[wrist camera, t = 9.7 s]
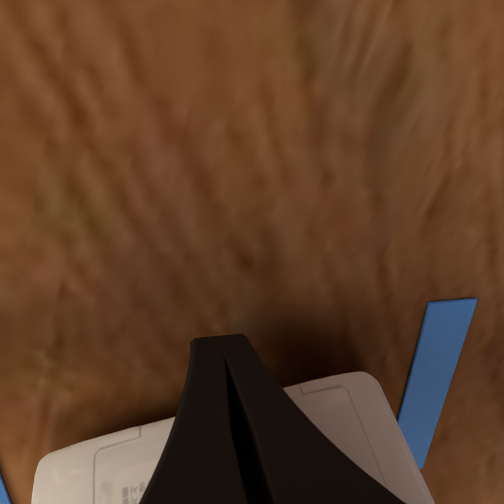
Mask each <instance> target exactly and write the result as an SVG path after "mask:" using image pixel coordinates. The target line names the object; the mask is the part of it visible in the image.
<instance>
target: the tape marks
mask: <svg viewBox="0 0 504 504" xmlns="http://www.w3.org/2000/svg"><path fill="white" fill-rule="evenodd" d="M477 300H478V299H477V298H468V299H457V300H446V301H435V302H428V306H427V310H426V314H425V317H424V321H423V325H422V329H421V333H420V336H419V340H418V344H417V348H416V351H415V355H414V359H413V363H412V366H411V370H410V374H409V378H408V382H407V385H406V389H405V393H404V397H403V400H402V404H401V408H400V412H399V415H398V419H397V423H398V425H399V427H400V429H401V431H402V433H403V436H404V438H405V440H406V442H407V444H408V446H409V449H410V451H411V453H412V455H413V457H414V459H415V461H416V464H417V466H418V468H419V469H422V468H423V465H424V462H425V459H426V456H427V453H428V450H429V447H430V444H431V441H432V438H433V435H434V432H435V429H436V426H437V422H438V419H439V416H440V413H441V410H442V407H443V404H444V401H445V398H446V395H447V392H448V389H449V386H450V383H451V380H452V377H453V374H454V371H455V368H456V364H457V361H458V358H459V355H460V352H461V349H462V346H463V343H464V340H465V337H466V334H467V331H468V328H469V325H470V322H471V319H472V316H473V313H474V310H475V307H476V303H477ZM0 504H12V503H11V500H10V498H9V495H8V492H7V490H6V487H5V484H4V481H3V479H2V476H1V473H0Z"/></svg>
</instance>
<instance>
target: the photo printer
mask: <svg viewBox="0 0 504 504" xmlns="http://www.w3.org/2000/svg"><path fill="white" fill-rule="evenodd" d="M283 389H284V391H285V392H286V393H287V394H288V396H289V397H290V398H291V399H292V400H293V401H294V403H295V404H296V405H297V406H298V407H299V408H300V409H301V411H302V412H303V413H304V414H305V415H306V416H307V417H308V418H309V419H310V420H311V422H312V423H313V424H314V425H315V426H316V427H317V428H318V429H319V430H320V431H321V432H322V433H323V434H324V435H325V436H326V437H327V438H328V439H329V440H330V441H331V442H332V443H333V444H335V445H336V446H337V447H338V448H339V449H340V450H341V451H342V452H343V453H344V454H345V455H347V456H348V457H349V458H350V459H351V460H352V461H353V462H354V463H356V464H357V465H358V466H359V467H360V468H361V469H363V470H364V471H365V472H366V473H368V474H369V475H370V476H371V477H373V478H374V479H375V480H376V481H378V482H379V483H380V484H382V485H383V486H384V487H385V488H387V489H388V490H389V491H390V492H392V493H393V494H394V495H396V496H397V497H398V498H399V499H401V500H402V501H403V502H405V503H406V504H435V502H434V500H433V498H432V496H431V494H430V492H429V489H428V487H427V485H426V483H425V481H424V479H423V477H422V474H421V472H420V470H419V468H418V466H417V464H416V461H415V459H414V457H413V455H412V453H411V451H410V449H409V446H408V444H407V442H406V440H405V438H404V436H403V433H402V431H401V429H400V427H399V425H398V423H397V421H396V418H395V416H394V414H393V412H392V410H391V408H390V405H389V403H388V401H387V399H386V397H385V395H384V393H383V390H382V388H381V386H380V384H379V383H378V381H377V380H376V379H375V378H374V377H373V376H371V375H370V374H368V373H366V372H360V371H358V372H351V373H345V374H339V375H334V376H329V377H325V378H321V379H316V380H312V381H307V382H304V383H300V384H297V385H293V386H289V387H285V388H283ZM174 419H175V417H172V418H169V419H165V420H161V421H157V422H153V423H149V424H146V425H142V426H137V427H132V428H128V429H125V430H121V431H118V432H114V433H111V434H107V435H104V436H100V437H97V438H93V439H90V440H86V441H83V442H80V443H77V444H74V445H71V446H68V447H65V448H62V449H59V450H57V451H54V452H51V453H49V454H47V455H46V456H45V457H43V458H42V459H41V460H40V462H39V464H38V466H37V470H36V473H35V478H34V486H33V493H32V501H31V504H139V502H140V500H141V498H142V496H143V494H144V492H145V490H146V488H147V485H148V483H149V481H150V479H151V477H152V475H153V473H154V470H155V468H156V466H157V464H158V461H159V459H160V457H161V454H162V452H163V449H164V447H165V444H166V442H167V439H168V437H169V434H170V431H171V428H172V425H173V422H174Z"/></svg>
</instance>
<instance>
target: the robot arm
mask: <svg viewBox="0 0 504 504" xmlns="http://www.w3.org/2000/svg"><path fill="white" fill-rule="evenodd" d="M139 504H406V503H405V502H403V501H402V500H401V499H399V498H398V497H397V496H396V495H394V494H393V493H392V492H390V491H389V490H388V489H387V488H385V487H384V486H383V485H382V484H380V483H379V482H378V481H376V480H375V479H374V478H373V477H371V476H370V475H369V474H368V473H366V472H365V471H364V470H363V469H361V468H360V467H359V466H358V465H357V464H356V463H354V462H353V461H352V460H351V459H350V458H349V457H348V456H347V455H345V454H344V453H343V452H342V451H341V450H340V449H339V448H338V447H337V446H336V445H335V444H333V443H332V442H331V441H330V440H329V439H328V438H327V437H326V436H325V435H324V434H323V433H322V432H321V431H320V430H319V429H318V428H317V427H316V426H315V425H314V424H313V423H312V422H311V420H310V419H309V418H308V417H307V416H306V415H305V414H304V413H303V412H302V411H301V409H300V408H299V407H298V406H297V405H296V404H295V403H294V401H293V400H292V399H291V398H290V397H289V396H288V394H287V393H286V392H285V391H284V389H283V388H282V387H281V386H280V384H279V383H278V382H277V381H276V379H275V378H274V377H273V375H272V374H271V373H270V371H269V370H268V369H267V367H266V366H265V364H264V363H263V362H262V360H261V359H260V357H259V356H258V354H257V353H256V351H255V350H254V348H253V347H252V345H251V343H250V342H249V340H248V338H247V337H246V336H245V335H244V334H233V335H223V336H212V337H202V338H194V339H193V340H192V341H191V342H190V360H189V367H188V372H187V377H186V382H185V385H184V389H183V393H182V397H181V401H180V404H179V407H178V411H177V413H176V416H175V419H174V422H173V425H172V428H171V431H170V434H169V437H168V439H167V442H166V444H165V447H164V449H163V452H162V454H161V457H160V459H159V461H158V464H157V466H156V468H155V470H154V473H153V475H152V477H151V479H150V481H149V483H148V485H147V488H146V490H145V492H144V494H143V496H142V498H141V500H140V502H139Z"/></svg>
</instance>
